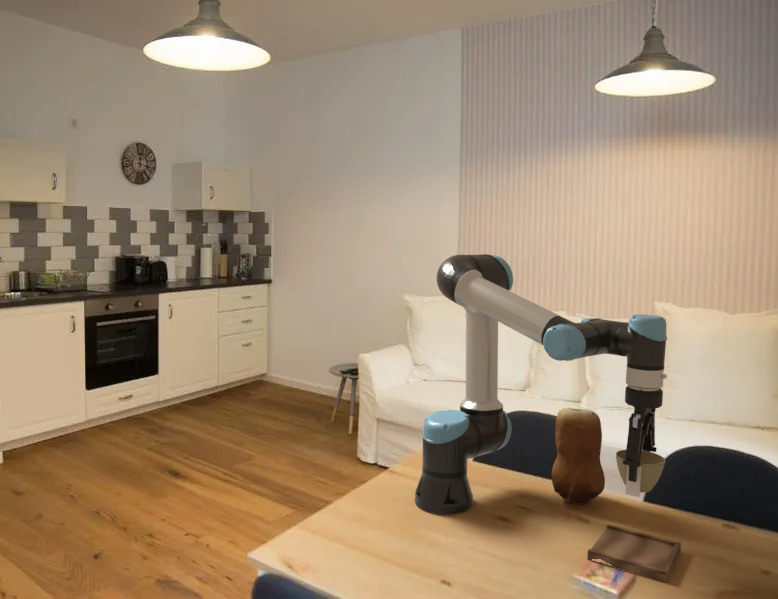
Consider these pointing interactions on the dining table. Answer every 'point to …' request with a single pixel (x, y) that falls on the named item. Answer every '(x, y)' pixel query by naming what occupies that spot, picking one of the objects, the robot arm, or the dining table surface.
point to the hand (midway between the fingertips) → (638, 487)
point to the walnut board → (636, 552)
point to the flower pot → (643, 468)
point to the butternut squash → (578, 456)
